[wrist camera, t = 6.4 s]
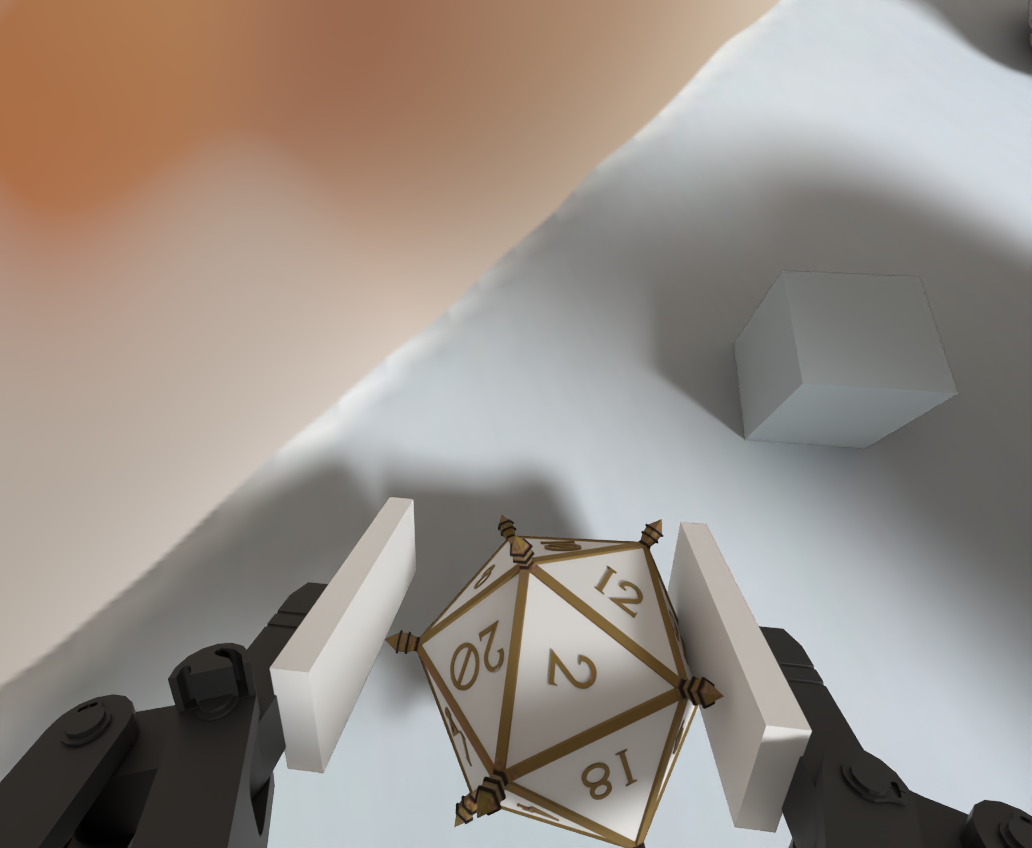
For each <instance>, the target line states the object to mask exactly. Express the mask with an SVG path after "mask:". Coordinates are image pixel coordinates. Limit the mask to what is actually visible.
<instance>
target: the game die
mask: <svg viewBox="0 0 1032 848" xmlns="http://www.w3.org/2000/svg"><path fill="white" fill-rule="evenodd" d="M513 524H514V522H513V521H511V520H510V519H509V520H508V519H507V518H505V517H504V516H503V515H501V521H500V523H499V527H498V530H500V531H501V536H504V537H505V539H506V541H505V542H504V543H503V544H502V545H501V546H500V548H499V549H498V550H497V551H496V552H495V553H494V554H493V555H492V557H491V558H490V559H489V560H488V561H487V562H486V563H485V565H484V566H483V567H482V568H481V569H480V570H479V571H478V572H477V574H476V575H475V576H474V577H473V578H472V579H471V580H470V581H469V583H468V584H467V585H466V586H465V587H464V588H463V589H462V590H461V592H460V593H459V594H458V595H457V596H456V597H455V598H454V600H453V601H452V602H451V603H450V604H449V605H448V606H447V607H446V609H445V610H444V611H443V612H442V613H441V614H440V615H439V616H438V618H437V619H436V620H435V621H434V622H433V623H432V624H431V625H430V627H429V628H428V629H427V630H426V631H425V632H424V633H423V634H422V636H421V637H415V636H413V635H411V632H409V634H407V633H403V631H402V630H401V631H400V633H398V634H395V635H393V636H391V637H389V638H387V639H385V640H386V641H387V642H388V643H389V644H390V645H391V646H392V647H393V648H394V649H395V650H396V653H398V651H401V652H405V654H407V652H410V651H416V652H418V655H419V658H420V660H421V663H422V666H423V668H424V671H425V674H426V676H427V679H428V682H429V684H430V687H431V690H432V692H433V695H434V698H435V700H436V703H437V706H438V708H439V711H440V714H441V716H442V719H443V722H444V724H445V727H446V730H447V732H448V735H449V738H450V740H451V743H452V746H453V748H454V751H455V754H456V756H457V759H458V762H459V764H460V767H461V770H462V772H463V775H464V778H465V780H466V783H467V786H468V788H469V791H470V793H469V794H468V795H466V796H462V800H461V802H460V803H457V804H456V820H455V827H456V826H458V825H460V824H463V823H465V824H467V823H469V822H471V821H472V820H473V815H474V814H475V813H477V818H479V817H481V816H483V815H485V814H487V815H488V816H489V815H491V814H493V813H495V812H497V811H499V810H501V809H503V810H506V811H509V812H513V813H516V814H519V815H522V816H525V817H528V818H532V819H535V820H538V821H541V822H544V823H548V824H551V825H554V826H557V827H560V828H564V829H567V830H570V831H573V832H576V833H579V834H583V835H586V836H589V837H592V838H595V839H599V840H602V841H605V842H608V843H611V844H614V845H618V846H621V847H624V848H645V845H644V840H645V837H646V835H647V832H648V830H649V827H650V825H651V822H652V820H653V817H654V815H655V812H656V810H657V807H658V805H659V802H660V800H661V797H662V795H663V792H664V790H665V787H666V785H667V782H668V780H669V777H670V775H671V772H672V770H673V767H674V765H675V762H676V760H677V757H678V755H679V752H680V750H681V747H682V745H683V742H684V740H685V737H686V735H687V732H688V730H689V727H690V725H691V722H692V720H693V717H694V715H695V712H696V710H697V707H698V705H699V704H700V705H702V708H704V709H706V708H708V707H710V706H712V705H714V704H715V701H716V700H718V699H720V698H722V697H724V696H723V695H722V694H721V693H720V692H719V691H718V690H717V689H716V688H715V684H713V683H712V682H710V681H709V680H708V679H706V678H705V677H702V678H701V679H698V678H696V677H695V676H692V672H691V669H690V665H689V662H688V658H687V655H686V651H685V646H684V642H683V639H682V637H681V634H680V630H679V627H678V618H677V615H676V613H675V610H674V608H673V606H672V603H671V601H670V598H669V596H668V593H667V591H666V588H665V586H664V583H663V581H662V579H661V576H660V574H659V571H658V569H657V566H656V564H655V561H654V559H653V557H652V554H651V552H650V547H651V546H652V545H653V544H655V543H658V541H657V540H658V539H659V538H660V536H661V537H663V535H662V519H661V520H658V521H656V522H654V523H651V524H649V525H648V524H646V525H645V526H646V528H645V530H644V531H642V532H641V533H642V537H641V540H640V541H639V542H634V541H613V540H593V539H572V538H552V537H531V536H515V530H516V528H515V527H514V526H513Z"/></svg>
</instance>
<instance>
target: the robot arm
mask: <svg viewBox="0 0 1032 848" xmlns="http://www.w3.org/2000/svg"><path fill="white" fill-rule="evenodd" d="M415 573H416V555H415V528H414V502H413V499H406V498H395V497H390V498H389V499H388V500H387V502H386V503H385V505H384V506H383V508H382V509H381V510H380V512H379V513H378V515H377V516H376V517H375V519H374V520H373V522H372V523H371V525H370V526H369V527H368V529H367V530H366V532H365V533H364V535H363V536H362V537H361V539H360V540H359V542H358V543H357V545H356V546H355V547H354V549H353V550H352V552H351V553H350V554H349V556H348V557H347V559H346V560H345V562H344V563H343V564H342V566H341V567H340V569H339V570H338V572H337V573H336V574H335V576H334V577H333V579H332V580H331V582H330V583H329V584H319V583H309V582H308V583H307V584H306V585H304V586H303V587H301V588H300V589H298V590H297V591H295V592H294V593H293V594H291V595H290V596H289V597H288V599H287V600H286V601H285V602H284V604H283V605H282V606H281V607H280V609H279V610H278V613H277V614H275V615H274V616H273V618H272V619H271V620H270V621H269V623H268V626H267V627H265V628H264V629H263V630H262V631H261V633H260V634H259V635H258V636H257V638H256V639H255V640H254V642H253V643H252V644H251V645H250V647H249V648H248V649H247V650H246V649H245V648H244V646H241V645H238V644H234V643H224V644H216V645H213V646H210V647H206V648H203V649H201V650H199V651H198V652H196V653H194V654H192V655H190V656H188V657H187V658H186V659H185V660H184V661H182V662H181V663H180V664H179V665H178V666H177V667H176V668H175V669H174V671H173V672H172V674H171V675H170V677H169V678H168V681H169V684H170V688H171V691H172V695H173V699H174V702H175V705H174V706H168V707H162V708H157V709H151V710H145V711H139V712H135V709H134V706H133V703H132V702H131V701H130V700H129V699H128V698H127V697H126V696H120V695H107V696H102V697H97V698H94V699H92V700H89V701H87V702H84V703H82V704H79V705H78V706H76V707H75V708H73V709H71V710H70V711H68V712H67V713H65V714H63V715H62V716H61V717H60V718H59V719H57V720H56V721H55V722H54V723H53V724H52V725H51V726H50V727H49V728H48V729H47V730H46V731H45V732H44V733H43V734H42V735H41V737H40V738H39V739H38V740H37V741H36V742H35V743H34V745H33V746H32V747H31V748H30V749H29V750H28V751H27V753H26V754H25V755H24V756H23V757H22V758H21V759H20V761H19V762H18V763H17V764H16V765H15V766H14V767H13V769H12V770H11V771H10V772H9V773H8V774H7V775H6V777H5V778H4V779H3V780H2V781H1V782H0V848H267V843H268V835H269V827H270V819H271V811H272V803H273V795H274V787H275V785H274V775H273V770H274V768H275V766H276V764H277V762H278V761H279V759H280V757H281V755H282V753H283V752H284V750H285V755H286V761H287V766H288V769H296V770H303V771H311V772H319V773H324V771H325V768H326V766H327V764H328V762H329V760H330V757H331V755H332V753H333V751H334V749H335V747H336V744H337V742H338V740H339V738H340V736H341V734H342V731H343V729H344V727H345V725H346V723H347V720H348V718H349V716H350V714H351V712H352V710H353V707H354V705H355V703H356V701H357V699H358V697H359V694H360V692H361V690H362V688H363V686H364V684H365V681H366V679H367V677H368V675H369V673H370V670H371V668H372V666H373V664H374V662H375V660H376V657H377V655H378V653H379V651H380V649H381V647H382V644H383V642H384V640H385V638H386V636H387V634H388V631H389V629H390V627H391V625H392V623H393V620H394V618H395V616H396V614H397V612H398V610H399V607H400V605H401V603H402V601H403V599H404V597H405V594H406V592H407V590H408V588H409V586H410V584H411V581H412V579H413V577H414V575H415ZM668 596H669V598H670V601H671V603H672V606H673V608H674V610H675V613H676V615H677V618H678V627H679V630H680V634H681V637H682V639H683V642H684V646H685V651H686V655H687V658H688V662H689V665H690V669H691V672H692V676H695V677H696V678H698V679H701V678H702V677H705V678H706V679H708V680H709V681H710V682H712V683H713V684H715V688H716V689H717V690H718V691H719V692H720V693H721V694H722V695H723V696H724V697H722V698H720V699H718V700H716V701H715V704H714V705H712V706H710V707H708V708H706V709H704V708H702V705H700V704H699V707H700V710H701V714H702V717H703V721H704V724H705V728H706V731H707V734H708V738H709V741H710V745H711V748H712V752H713V755H714V758H715V762H716V765H717V769H718V772H719V776H720V779H721V782H722V786H723V789H724V793H725V796H726V799H727V803H728V806H729V810H730V813H731V817H732V820H733V823H734V827H737V828H745V829H752V830H760V831H768V832H776V829H777V827H778V824H779V821H780V818H781V816H782V813H783V815H784V817H785V820H786V822H787V825H788V828H789V830H790V833H791V835H792V840H791V843H790V845H789V848H1032V816H1031V815H1029V814H1027V813H1026V812H1024V811H1022V810H1020V809H1018V808H1015V807H1013V806H1010V805H1008V804H1005V803H1003V802H999V801H989V800H984V801H982V802H979V803H977V804H975V805H974V807H973V808H972V810H971V812H970V814H969V815H968V814H966V813H963V812H961V811H958V810H956V809H953V808H950V807H948V806H945V805H943V804H940V803H938V802H935V801H933V800H930V799H928V798H925V797H923V796H921V795H919V794H917V793H914V792H912V791H910V790H909V789H908V787H907V786H906V785H905V784H904V782H903V781H902V780H901V778H900V777H899V776H898V775H897V773H896V772H895V771H893V770H892V769H891V768H890V767H889V766H887V765H886V764H885V763H884V762H883V761H882V760H880V759H879V758H877V757H875V756H873V755H872V754H870V753H868V752H866V751H864V749H863V748H862V746H861V745H860V743H859V741H858V740H857V738H856V736H855V734H854V733H853V731H852V729H851V728H850V726H849V724H848V723H847V721H846V719H845V718H844V716H843V714H842V713H841V711H840V709H839V708H838V706H837V704H836V703H835V701H834V699H833V697H832V696H831V694H830V692H829V691H828V689H827V687H826V686H824V685H823V681H822V679H821V677H820V676H819V674H818V672H817V671H816V670H814V665H813V664H812V662H811V660H810V659H809V657H808V655H807V654H806V652H805V650H804V649H803V647H802V646H801V645H800V644H799V643H798V642H797V641H796V640H795V639H794V638H793V637H792V636H790V635H789V634H788V633H787V632H786V631H785V630H784V629H780V628H770V627H760V626H758V624H757V622H756V620H755V618H754V616H753V614H752V612H751V610H750V608H749V606H748V604H747V602H746V601H745V599H744V597H743V595H742V593H741V591H740V589H739V587H738V585H737V583H736V581H735V579H734V577H733V575H732V573H731V571H730V569H729V567H728V565H727V563H726V561H725V559H724V557H723V555H722V554H721V552H720V550H719V548H718V546H717V544H716V542H715V540H714V538H713V536H712V534H711V532H710V530H709V528H708V526H707V524H699V523H687V522H681V523H680V528H679V534H678V539H677V544H676V550H675V555H674V560H673V566H672V571H671V577H670V582H669V587H668Z"/></svg>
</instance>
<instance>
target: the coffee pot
mask: <svg viewBox="0 0 1032 848" xmlns="http://www.w3.org/2000/svg"><path fill="white" fill-rule="evenodd" d="M1028 15H1029V26H1030V28H1031V30H1032V0H1029V5H1028ZM1030 45H1031V47H1032V32H1031V33H1030Z"/></svg>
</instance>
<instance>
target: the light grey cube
mask: <svg viewBox="0 0 1032 848" xmlns="http://www.w3.org/2000/svg"><path fill="white" fill-rule="evenodd" d="M734 351H735V359H736V368H737V377H738V385H739V394H740V403H741V411H742V420H743V428H744V437H745V440H753V441H767V442H781V443H795V444H810V445H824V446H838V447H852V448H867V447H869V446H870V445H872V444H874V443H875V442H877V441H879V440H880V439H882V438H884V437H886V436H887V435H889V434H891V433H892V432H894V431H896V430H897V429H899V428H901V427H902V426H904V425H906V424H908V423H909V422H911V421H913V420H914V419H916V418H918V417H919V416H921V415H923V414H924V413H926V412H928V411H929V410H931V409H933V408H935V407H936V406H938V405H940V404H941V403H943V402H945V401H946V400H948V399H950V398H951V397H953V396H955V395H957V394H958V391H957V388H956V385H955V382H954V379H953V376H952V373H951V370H950V367H949V364H948V361H947V358H946V355H945V352H944V349H943V346H942V343H941V340H940V337H939V334H938V331H937V328H936V325H935V321H934V318H933V315H932V312H931V309H930V306H929V303H928V300H927V297H926V294H925V291H924V288H923V285H922V282H921V279H920V277H917V276H895V275H873V274H852V273H830V272H809V271H787V270H782V272H781V273H780V275H779V276H778V278H777V279H776V281H775V282H774V284H773V285H772V287H771V288H770V290H769V291H768V293H767V294H766V296H765V297H764V299H763V300H762V302H761V303H760V305H759V306H758V308H757V309H756V311H755V312H754V314H753V315H752V317H751V318H750V320H749V321H748V323H747V324H746V326H745V327H744V329H743V330H742V332H741V333H740V335H739V336H738V338H737V339H736V341H735V342H734Z"/></svg>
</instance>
